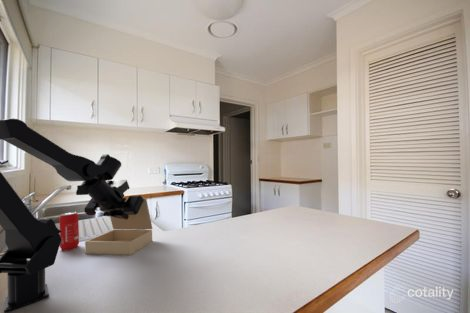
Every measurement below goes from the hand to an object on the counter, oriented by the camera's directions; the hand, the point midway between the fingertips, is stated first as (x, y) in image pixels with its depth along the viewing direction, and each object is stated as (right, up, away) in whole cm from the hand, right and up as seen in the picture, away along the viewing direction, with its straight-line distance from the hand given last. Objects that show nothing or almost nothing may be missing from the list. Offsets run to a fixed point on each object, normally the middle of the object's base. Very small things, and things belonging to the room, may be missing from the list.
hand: (127, 218), depth 76 cm
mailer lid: (0, +1, +1) cm, 1 cm away
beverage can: (-19, -10, -2) cm, 21 cm away
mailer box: (0, -9, -4) cm, 10 cm away
